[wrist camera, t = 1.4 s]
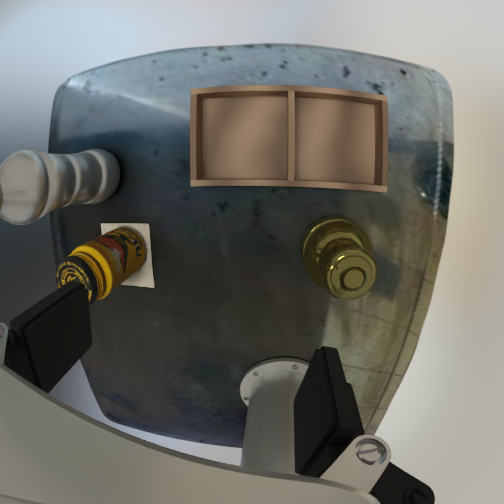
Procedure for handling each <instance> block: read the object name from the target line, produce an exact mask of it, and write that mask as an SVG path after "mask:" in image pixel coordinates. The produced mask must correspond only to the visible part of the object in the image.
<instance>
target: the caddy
mask: <svg viewBox="0 0 504 504" xmlns="http://www.w3.org/2000/svg"><path fill="white" fill-rule="evenodd" d="M190 168H191V186H292V187H317V188H336V189H351V190H365V191H377V192H387V178H388V106H387V96H384V95H379V94H372V93H366V92H359V91H352V90H344V89H334V88H324V87H310V86H291V85H241V86H221V87H208V88H197V89H191V116H190Z"/></svg>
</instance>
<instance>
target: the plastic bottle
mask: <svg viewBox="0 0 504 504" xmlns="http://www.w3.org/2000/svg"><path fill="white" fill-rule="evenodd" d="M119 179H120V169H119V164H118V162H117V160H116V158H115V157H114V156H113V155H112V154H111V153H109V152H107V151H105V150H102V149H92V150H87V151H84V152H81V153H75V154H68V155H66V154H49V153H43V152H38V151H32V150H21V151H18V152H16V153H14V154H12V155H10V156H9V157H8V158H7V159H6V160H5V161H4V162H3V163H2V164H1V165H0V217H1V218H2V219H4V220H6V221H8V222H10V223H12V224H18V225H26V224H28V223H31V222H33V221H35V220H37V219H38V218H40V217H42V216H44V215H46V214H48V213H50V212H51V211H53V210H56V209H59V208H62V207H64V206H67V205H74V204H97V203H100V202H102V201H104V200H106V199H107V198H109V197H110V196H111V195H112V194H113V193H114V192H115V190H116V188H117V186H118V183H119Z"/></svg>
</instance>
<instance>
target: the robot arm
mask: <svg viewBox="0 0 504 504" xmlns="http://www.w3.org/2000/svg"><path fill="white" fill-rule="evenodd" d="M10 326H11V329H10V330H8V328H7V326H6V325H5V324H3V323H0V504H434V502H435V497H434V493H433V491H432V489H431V488H430V487H429V486H428V485H426V484H425V483H423V482H421V481H420V480H418V479H416V478H415V477H413V476H411V475H410V474H408V473H406V472H405V471H403V470H402V469H400V468H399V467H397V466H395V465H394V464H392V463H391V462H389V461H390V459H391V450H390V448H389V446H388V445H387V443H386V442H385V441H384V440H382V439H381V438H379V437H376V436H374V435H365V434H364V430H363V426H362V422H361V418H360V414H359V410H358V407H357V403H356V399H355V396H354V392H353V388H352V386H351V384H350V383H347V382H346V379H345V375H344V371H343V368H342V364H341V360H340V357H339V353H338V350H337V349H336V348H332V347H325V346H322V347H321V348H320V349H316V350H315V352H314V354H313V357H312V359H311V362H310V363H308V362H306V361H303V360H300V359H295V358H274V359H269V360H265V361H263V362H260V363H258V364H256V365H255V366H253V367H251V368H250V369H249V370H248V371H247V372H246V373H245V375H244V376H243V378H242V381H241V385H240V395H241V398H242V400H243V401H244V403H245V404H246V405H247V406H248V412H247V419H246V427H245V434H244V441H243V448H242V455H241V462H240V466H236V465H231V464H226V463H221V462H216V461H212V460H208V459H204V458H200V457H196V456H192V455H189V454H185V453H181V452H178V451H175V450H172V449H169V448H165V447H162V446H159V445H157V444H154V443H151V442H148V441H145V440H142V439H140V438H137V437H135V436H132V435H129V434H127V433H124V432H122V431H120V430H117V429H115V428H113V427H110V426H108V425H106V424H104V423H102V422H99V421H97V420H95V419H93V418H91V417H89V416H87V415H85V414H83V413H81V412H79V411H77V410H75V409H74V408H72V407H70V406H68V405H66V404H64V403H62V402H61V401H59V400H57V399H56V398H54V397H52V396H51V395H49V394H47V393H49V392H50V391H51V390H52V389H53V387H54V386H55V385H56V384H57V383H58V382H59V381H60V380H61V378H62V377H63V376H64V375H65V374H66V373H67V372H68V371H69V370H70V369H71V367H72V366H73V365H74V364H75V363H76V362H77V361H78V360H79V359H80V358H81V357H82V356H83V354H84V353H85V352H86V351H87V350H88V349H89V348H90V347H91V344H92V333H91V324H90V312H89V297H88V290H87V288H86V286H85V284H83V283H81V282H78V281H75V280H71V281H70V282H68V283H66V284H65V285H63V286H62V287H60V288H59V289H57V290H56V291H54V292H52V293H51V294H49V295H48V296H46V297H45V298H43V299H42V300H40V301H39V302H37V303H36V304H34V305H33V306H32V307H30V308H29V309H27V310H26V311H24V312H23V313H21V314H20V315H19V316H17V317H16V318H14V319H13V320H12V321H10Z"/></svg>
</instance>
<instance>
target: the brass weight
mask: <svg viewBox="0 0 504 504" xmlns="http://www.w3.org/2000/svg"><path fill="white" fill-rule="evenodd" d="M301 251H302V258H303V262H304V266H305V269H306V272H307V274H308V275H309V277H310V278H311V279H312V281H313V282H315V283H316V284H317V285H319V286H320V287H322V288H325V289H327V291H328V292H329V293H330V294H331V295H332V296H333V297H335V298H337V299H340V300H345V301H349V300H355V299H358V298H360V297H362V296H364V295H365V294H366V293H368V292H369V291H370V289H371V288H372V287H373V285H374V283H375V281H376V277H377V265H376V262H375V260H374V258H373V254H374V253H373V246H372V243H371V240H370V238H369V236H368V235H367V234H366V232H365V231H364V230H363V229H362V228H360V227H359V226H358V225H357V224H355V223H354V222H352V221H350V220H349V219H347V218H345V217H342V216H337V215H330V216H325V217H322V218H320V219H318V220H316V221H315V222H313V223H312V224H311V225H310V226H309V227H308V228H307V230H306V232H305V233H304V236H303V238H302V243H301Z"/></svg>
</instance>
